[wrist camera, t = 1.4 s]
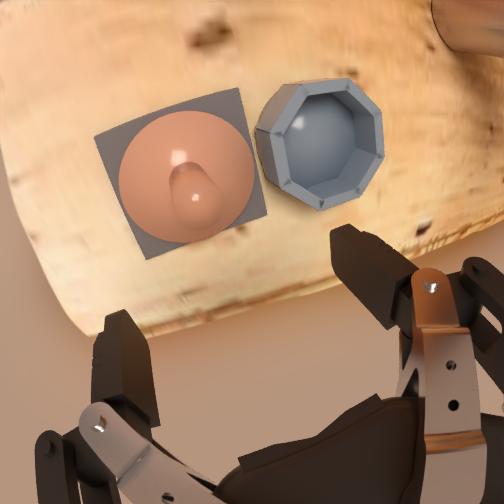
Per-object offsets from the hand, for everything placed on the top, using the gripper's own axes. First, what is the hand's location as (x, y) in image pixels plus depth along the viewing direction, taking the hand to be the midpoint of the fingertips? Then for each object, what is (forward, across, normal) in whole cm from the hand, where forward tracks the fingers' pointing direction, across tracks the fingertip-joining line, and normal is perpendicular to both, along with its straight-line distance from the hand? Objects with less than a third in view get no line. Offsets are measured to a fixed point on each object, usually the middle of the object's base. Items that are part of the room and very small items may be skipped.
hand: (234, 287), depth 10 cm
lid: (+15, 0, 0) cm, 15 cm away
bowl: (+16, -12, 0) cm, 20 cm away
